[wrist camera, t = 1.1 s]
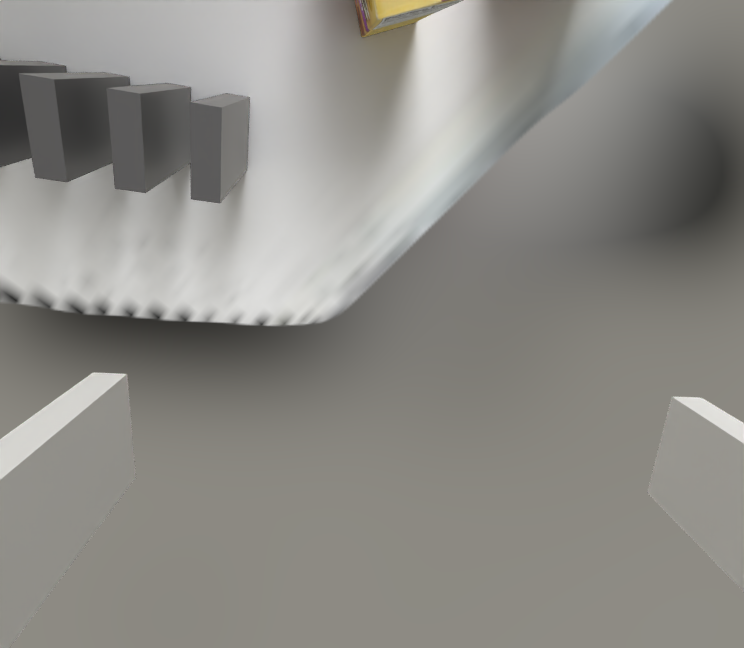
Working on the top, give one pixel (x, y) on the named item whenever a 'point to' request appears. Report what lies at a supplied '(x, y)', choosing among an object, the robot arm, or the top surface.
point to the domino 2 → (68, 122)
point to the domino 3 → (148, 133)
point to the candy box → (395, 13)
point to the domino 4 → (218, 145)
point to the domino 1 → (17, 108)
